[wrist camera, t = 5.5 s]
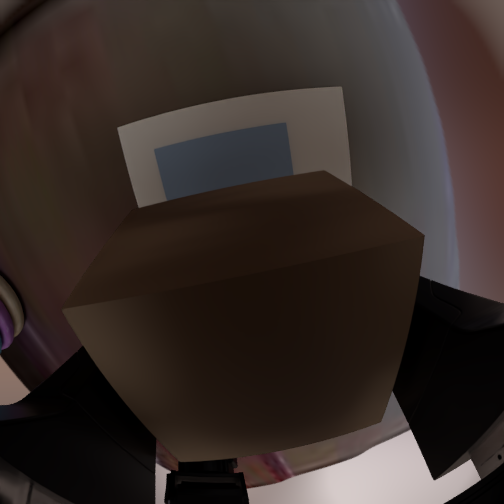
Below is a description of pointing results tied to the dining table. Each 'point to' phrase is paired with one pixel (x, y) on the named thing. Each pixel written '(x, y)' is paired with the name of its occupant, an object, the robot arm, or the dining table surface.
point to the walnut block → (252, 314)
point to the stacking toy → (9, 314)
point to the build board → (237, 143)
